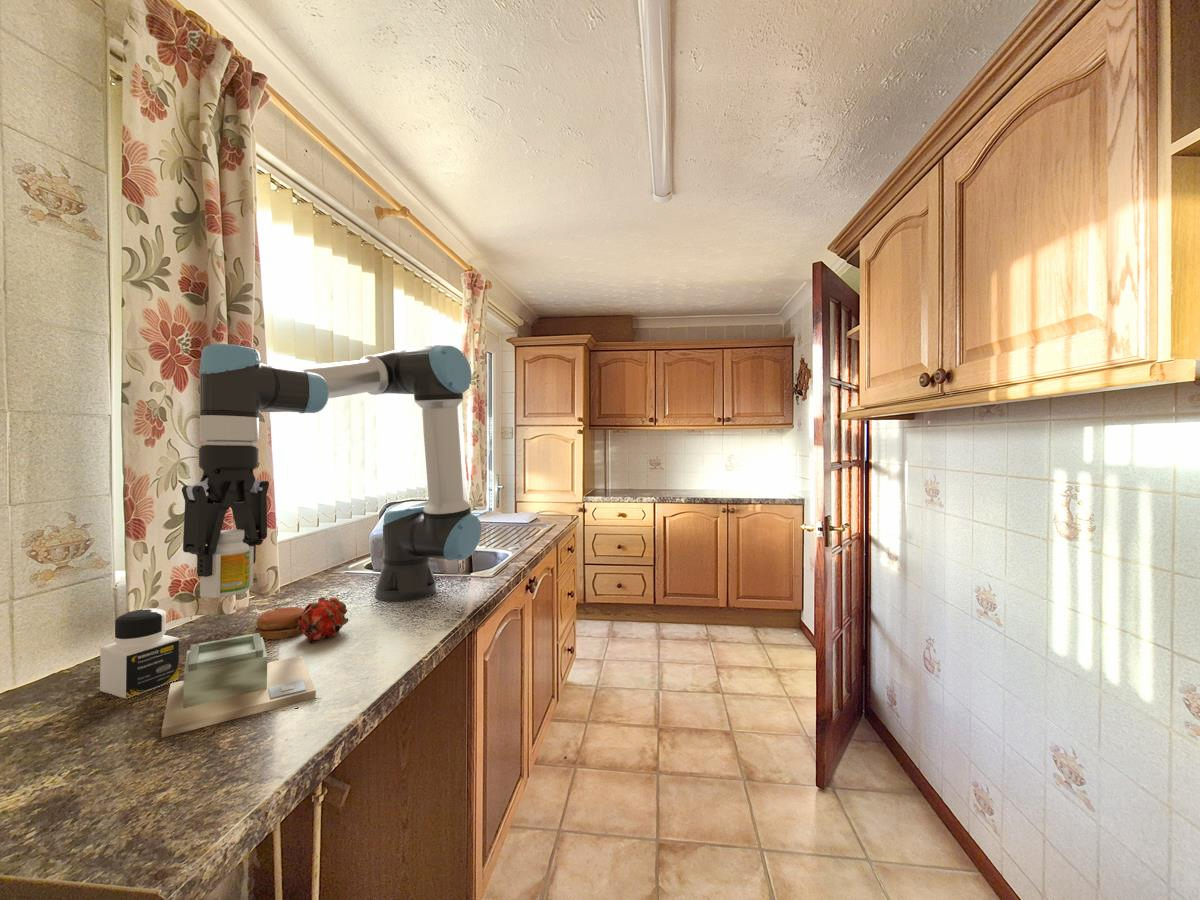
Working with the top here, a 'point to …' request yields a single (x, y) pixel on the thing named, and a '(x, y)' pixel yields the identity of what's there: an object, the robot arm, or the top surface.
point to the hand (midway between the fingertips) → (227, 590)
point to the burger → (279, 623)
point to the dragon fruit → (322, 619)
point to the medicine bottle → (139, 655)
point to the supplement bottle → (233, 562)
